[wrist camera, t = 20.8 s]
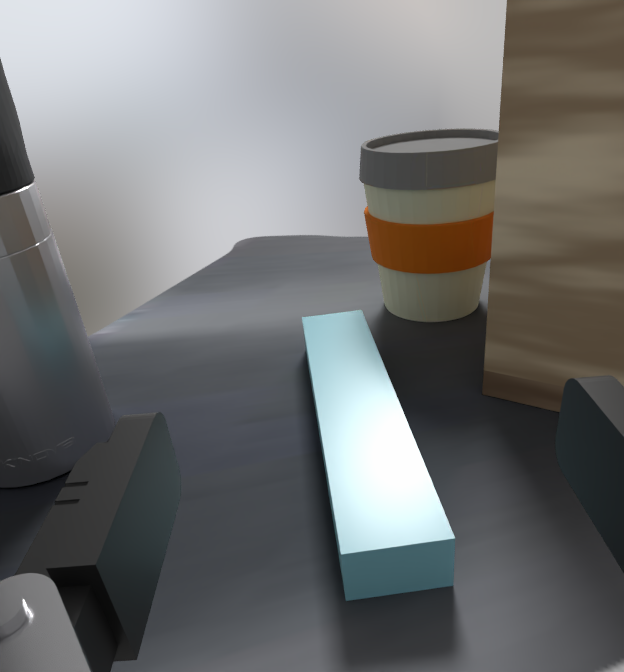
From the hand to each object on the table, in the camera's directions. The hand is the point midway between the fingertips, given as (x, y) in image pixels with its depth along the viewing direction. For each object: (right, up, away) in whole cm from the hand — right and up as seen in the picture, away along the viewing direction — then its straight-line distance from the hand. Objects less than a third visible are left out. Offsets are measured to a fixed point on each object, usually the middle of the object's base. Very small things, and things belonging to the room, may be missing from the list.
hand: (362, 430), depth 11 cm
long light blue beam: (+2, -3, +24) cm, 24 cm away
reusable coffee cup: (+11, +5, +41) cm, 43 cm away
